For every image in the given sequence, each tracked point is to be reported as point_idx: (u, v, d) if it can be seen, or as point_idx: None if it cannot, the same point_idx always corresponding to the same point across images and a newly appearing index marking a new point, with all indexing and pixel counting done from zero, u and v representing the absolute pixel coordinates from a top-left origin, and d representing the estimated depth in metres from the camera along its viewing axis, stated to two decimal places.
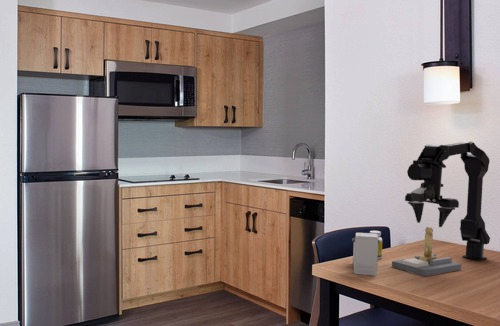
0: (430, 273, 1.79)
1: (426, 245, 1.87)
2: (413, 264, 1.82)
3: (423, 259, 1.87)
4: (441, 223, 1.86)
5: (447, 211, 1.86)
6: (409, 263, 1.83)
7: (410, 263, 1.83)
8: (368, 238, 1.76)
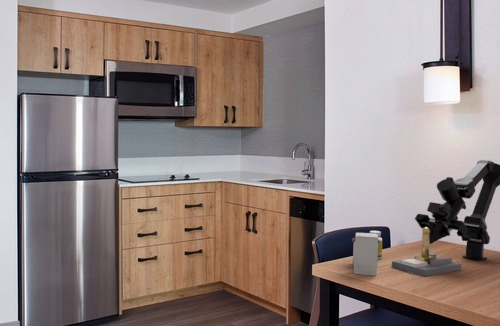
0: (430, 273, 1.79)
1: (423, 245, 1.87)
2: (412, 264, 1.81)
3: (420, 259, 1.86)
4: (432, 239, 1.88)
5: (442, 233, 1.89)
6: (408, 263, 1.83)
7: (409, 263, 1.83)
8: (368, 238, 1.76)
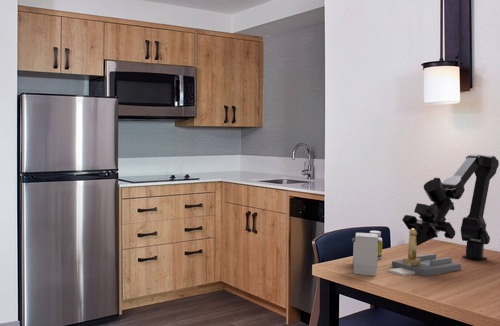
0: (430, 273, 1.79)
1: (410, 247, 1.83)
2: (399, 274, 1.78)
3: (407, 262, 1.82)
4: (419, 241, 1.84)
5: (429, 235, 1.86)
6: (395, 273, 1.80)
7: (396, 273, 1.79)
8: (368, 238, 1.76)
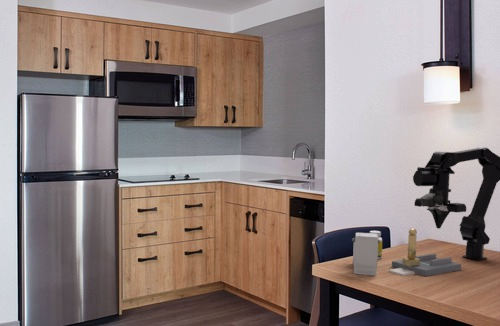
0: (430, 273, 1.79)
1: (409, 247, 1.83)
2: (400, 274, 1.78)
3: (406, 262, 1.82)
4: (439, 225, 1.99)
5: (445, 213, 1.99)
6: (396, 273, 1.79)
7: (397, 273, 1.79)
8: (368, 238, 1.76)
